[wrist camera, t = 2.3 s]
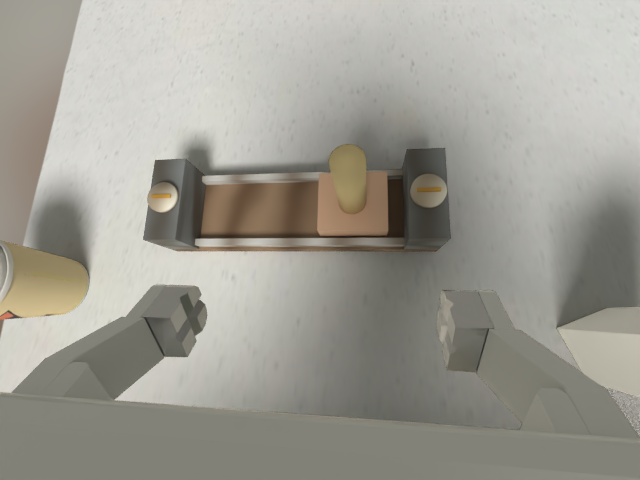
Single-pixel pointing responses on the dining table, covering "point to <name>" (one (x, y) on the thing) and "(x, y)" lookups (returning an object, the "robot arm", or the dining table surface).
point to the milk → (607, 347)
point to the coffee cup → (39, 283)
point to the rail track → (290, 209)
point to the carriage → (352, 196)
